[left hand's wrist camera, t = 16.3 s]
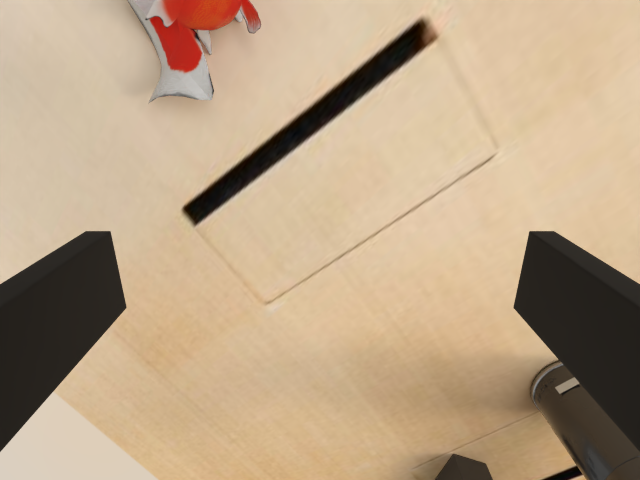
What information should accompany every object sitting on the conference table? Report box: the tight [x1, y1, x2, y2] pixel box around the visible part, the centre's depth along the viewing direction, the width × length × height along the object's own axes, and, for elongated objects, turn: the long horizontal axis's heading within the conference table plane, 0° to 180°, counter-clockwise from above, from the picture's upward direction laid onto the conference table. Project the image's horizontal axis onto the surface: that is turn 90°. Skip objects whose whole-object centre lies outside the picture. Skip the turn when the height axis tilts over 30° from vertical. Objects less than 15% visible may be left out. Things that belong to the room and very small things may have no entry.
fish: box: [128, 0, 261, 104], centre depth 34 cm, size 11×16×10 cm
